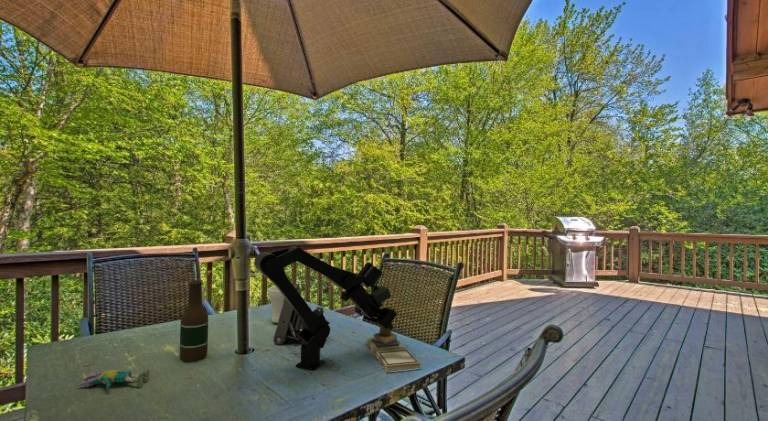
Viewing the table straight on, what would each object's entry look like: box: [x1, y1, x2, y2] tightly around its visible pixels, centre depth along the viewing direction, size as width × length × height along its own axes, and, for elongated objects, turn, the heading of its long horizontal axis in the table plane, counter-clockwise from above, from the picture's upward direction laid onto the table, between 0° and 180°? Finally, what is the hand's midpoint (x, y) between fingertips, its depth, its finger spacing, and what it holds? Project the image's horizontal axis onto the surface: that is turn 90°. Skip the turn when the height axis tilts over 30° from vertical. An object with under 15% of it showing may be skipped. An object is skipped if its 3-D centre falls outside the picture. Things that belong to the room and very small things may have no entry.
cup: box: [267, 285, 284, 325], centre depth 154 cm, size 11×11×14 cm
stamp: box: [373, 326, 398, 345], centre depth 128 cm, size 6×6×10 cm
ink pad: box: [371, 337, 399, 348], centre depth 128 cm, size 8×8×1 cm
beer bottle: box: [179, 279, 209, 363], centre depth 117 cm, size 8×8×24 cm
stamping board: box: [365, 337, 421, 372], centre depth 122 cm, size 24×10×2 cm, turn 17°
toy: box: [78, 369, 150, 389], centre depth 98 cm, size 11×5×15 cm
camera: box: [272, 283, 325, 346], centre depth 134 cm, size 11×17×20 cm, turn 89°
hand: (388, 326), depth 129 cm, fingers closed on stamp, 4 cm apart
